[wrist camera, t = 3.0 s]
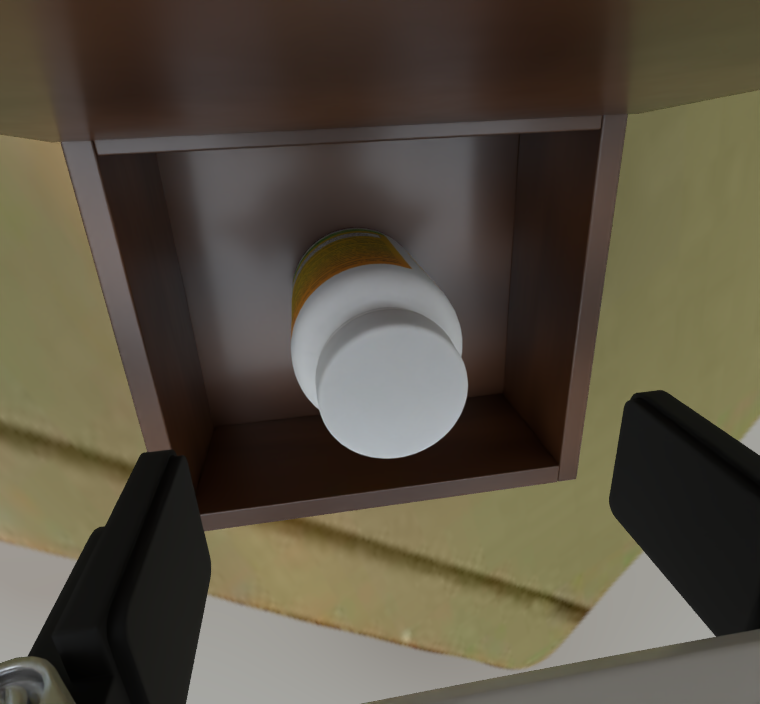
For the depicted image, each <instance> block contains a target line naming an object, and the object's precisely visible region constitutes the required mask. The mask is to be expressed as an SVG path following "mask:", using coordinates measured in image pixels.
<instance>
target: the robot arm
mask: <svg viewBox="0 0 760 704" xmlns="http://www.w3.org/2000/svg"><path fill="white" fill-rule="evenodd" d="M609 504H610V508H611V511H612V513H613V515H614V516H615V518H616V519H617V520H618V521H619V522H620V523H621V525H622V526H623V527H624V528H625V529H626V531H627V532H628V533H629V534H630V535H631V536H632V538H633V539H634V540H635V541H636V542H637V544H638V545H639V546H640V547H641V548H642V549H643V551H644V552H645V553H646V554H647V555H648V557H649V558H650V559H651V560H652V561H653V563H654V564H655V565H656V566H657V567H658V568H659V570H660V571H661V572H662V573H663V574H664V576H665V577H666V578H667V579H668V580H669V581H670V583H671V584H672V585H673V586H674V587H675V589H676V590H677V591H678V592H679V593H680V594H681V596H682V597H683V598H684V599H685V600H686V602H687V603H688V604H689V605H690V606H691V607H692V609H693V610H694V611H695V612H696V613H697V614H698V616H699V617H700V618H701V619H702V621H703V622H704V623H705V624H706V625H707V626H708V628H709V629H710V630H711V631H712V632H713V633H714V635H715V636H716V637H713V638H707V639H702V640H697V641H691V642H685V643H680V644H674V645H669V646H664V647H659V648H652V649H647V650H642V651H636V652H631V653H626V654H620V655H615V656H609V657H604V658H598V659H593V660H588V661H582V662H577V663H572V664H566V665H561V666H556V667H550V668H545V669H540V670H534V671H529V672H524V673H519V674H513V675H508V676H503V677H497V678H493V679H487V680H482V681H476V682H471V683H466V684H461V685H455V686H451V687H445V688H440V689H435V690H430V691H425V692H419V693H414V694H409V695H404V696H399V697H394V698H389V699H384V700H378V701H373V702H368V703H363V704H760V455H758V454H757V453H755V452H753V451H752V450H751V449H749V448H748V447H746V446H745V445H743V444H742V443H740V442H739V441H738V440H736V439H735V438H733V437H732V436H730V435H729V434H727V433H726V432H724V431H723V430H721V429H720V428H718V427H717V426H716V425H714V424H713V423H711V422H710V421H708V420H707V419H705V418H704V417H702V416H701V415H699V414H698V413H696V412H695V411H694V410H692V409H691V408H689V407H688V406H686V405H685V404H683V403H682V402H680V401H679V400H677V399H676V398H674V397H673V396H672V395H670V394H669V393H667V392H665V391H663V390H657V391H649V392H641V393H636V394H634V395H633V396H632V397H631V399H630V400H629V401H627V402H626V404H625V406H624V411H623V417H622V423H621V429H620V435H619V441H618V447H617V454H616V460H615V466H614V472H613V478H612V484H611V490H610V496H609ZM210 577H211V560H210V555H209V551H208V546H207V542H206V538H205V534H204V529H203V525H202V521H201V517H200V513H199V508H198V504H197V500H196V496H195V491H194V487H193V483H192V479H191V474H190V470H189V466H188V462H187V459H186V457H185V456H184V455H182V456H177V455H176V453H175V451H174V450H173V449H170V450H162V451H154V452H146V453H142V454H141V455H140V457H139V459H138V461H137V463H136V465H135V467H134V469H133V471H132V473H131V475H130V477H129V479H128V481H127V483H126V485H125V487H124V489H123V491H122V493H121V495H120V497H119V499H118V501H117V503H116V505H115V507H114V509H113V511H112V513H111V516H110V518H109V520H108V522H107V524H106V526H104V527H99V528H97V529H95V530H94V531H93V533H92V534H91V536H90V537H89V539H88V541H87V543H86V545H85V547H84V549H83V551H82V553H81V555H80V557H79V559H78V560H77V562H76V564H75V566H74V568H73V570H72V572H71V574H70V576H69V578H68V580H67V582H66V584H65V585H64V588H63V590H62V591H61V593H60V595H59V597H58V599H57V601H56V603H55V605H54V607H53V609H52V610H51V612H50V614H49V616H48V618H47V620H46V622H45V624H44V626H43V628H42V630H41V632H40V634H39V636H38V638H37V639H36V641H35V643H34V645H33V647H32V649H31V651H30V653H29V655H28V657H19V658H14V659H11V660H8V661H5V662H2V663H0V704H186V700H187V695H188V690H189V684H190V679H191V674H192V669H193V664H194V659H195V654H196V649H197V644H198V639H199V633H200V628H201V623H202V618H203V613H204V608H205V602H206V598H207V593H208V588H209V582H210Z"/></svg>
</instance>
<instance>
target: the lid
mask: <svg viewBox="0 0 760 704" xmlns="http://www.w3.org/2000/svg"><path fill="white" fill-rule="evenodd" d="M756 90H760V0H0V135H7V136H14V137H20V138H27V139H34V140H40V141H47V142H71V141H91V140H112V139H132V138H152V137H173V136H193V135H213V134H234V133H254V132H274V131H294V130H315V129H335V128H355V127H376V126H396V125H416V124H437V123H457V122H477V121H498V120H518V119H538V118H559V117H579V116H599V115H620V114H639V113H644V112H649V111H654V110H659V109H664V108H670V107H675V106H680V105H685V104H690V103H695V102H700V101H705V100H710V99H715V98H720V97H725V96H731V95H736V94H741V93H746V92H751V91H756Z"/></svg>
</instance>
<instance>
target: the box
mask: <svg viewBox="0 0 760 704" xmlns="http://www.w3.org/2000/svg"><path fill="white" fill-rule="evenodd" d="M627 117H628V114H620V115H599V116H579V117H559V118H538V119H518V120H498V121H477V122H457V123H437V124H416V125H396V126H376V127H355V128H335V129H315V130H294V131H274V132H254V133H234V134H213V135H193V136H173V137H152V138H132V139H112V140H91V141H71V142H61V146H62V149H63V153H64V157H65V160H66V164H67V167H68V171H69V174H70V178H71V181H72V185H73V189H74V192H75V196H76V199H77V203H78V206H79V210H80V214H81V217H82V221H83V224H84V228H85V231H86V235H87V238H88V242H89V246H90V249H91V253H92V256H93V260H94V263H95V267H96V271H97V274H98V278H99V281H100V285H101V288H102V292H103V296H104V299H105V303H106V306H107V310H108V313H109V317H110V320H111V324H112V328H113V331H114V335H115V338H116V342H117V345H118V349H119V353H120V356H121V360H122V363H123V367H124V370H125V374H126V377H127V381H128V385H129V388H130V392H131V395H132V399H133V402H134V406H135V410H136V413H137V417H138V420H139V424H140V427H141V431H142V434H143V438H144V442H145V445H146V449H147V452H154V451H162V450H170V449H173V450H174V451H175V453H176V455H177V456H182V455H184V456H185V457H186V459H187V462H188V466H189V470H190V474H191V479H192V483H193V487H194V491H195V496H196V500H197V504H198V508H199V513H200V517H201V521H202V525H203V529H204V531H209V530H217V529H224V528H231V527H238V526H245V525H252V524H259V523H267V522H274V521H281V520H288V519H295V518H302V517H310V516H317V515H324V514H331V513H338V512H345V511H352V510H360V509H367V508H374V507H381V506H388V505H395V504H403V503H410V502H417V501H424V500H431V499H438V498H445V497H453V496H460V495H467V494H474V493H481V492H488V491H495V490H503V489H510V488H517V487H524V486H531V485H538V484H546V483H553V482H557V481H565V480H573V479H576V476H577V469H578V462H579V455H580V448H581V441H582V434H583V427H584V420H585V413H586V406H587V399H588V392H589V385H590V378H591V371H592V364H593V357H594V349H595V342H596V335H597V328H598V321H599V314H600V307H601V300H602V293H603V286H604V279H605V272H606V265H607V258H608V251H609V244H610V237H611V229H612V222H613V215H614V208H615V201H616V194H617V187H618V180H619V173H620V166H621V159H622V152H623V145H624V138H625V131H626V124H627ZM349 228H364V229H370V230H374V231H378V232H380V233H383V234H385V235H387V236H389V237H390V238H392V239H393V240H395V241H396V242H397V243H398V244H399V245H400V246H401V247H403V248H404V249H405V250H406V251H407V252H408V253H409V254H410V256H411V257H412V258H413V259H414V260H415V261H416V263H417V264H418V265H419V266H420V267H421V268H422V269H423V270H424V272H425V273H426V274H427V275H428V276H429V277H430V278H431V279H432V281H433V282H434V283H435V284H436V285H437V286H438V287H439V288H440V289H441V291H442V292H443V293H444V294H445V296H446V297H447V299H448V300H449V302H450V304H451V305H452V307H453V309H454V310H455V313H456V315H457V318H458V321H459V324H460V327H461V333H462V356H461V358H462V360H463V362H464V365H465V368H466V371H467V378H468V392H467V398H466V402H465V405H464V408H463V410H462V413H461V415H460V417H459V418H458V420H457V422H456V423H455V425H454V426H453V427H452V428H451V430H450V431H449V432H448V433H447V434H446V435H445V436H444V437H443V438H441V439H440V440H439V441H438V442H436V443H435V444H433V445H432V446H430V447H428V448H426V449H424V450H422V451H420V452H418V453H415V454H412V455H409V456H405V457H399V458H374V457H369V456H365V455H362V454H359V453H356V452H354V451H352V450H350V449H348V448H347V447H345V446H344V445H342V444H341V443H340V442H339V441H337V440H336V439H335V438H334V436H333V435H332V434H331V433H330V432H329V430H328V429H327V427H326V425H325V424H324V422H323V420H322V417H321V415H320V411H319V409H318V408H316V407H315V406H314V405H313V404H312V403H311V401H310V400H309V399H308V398H307V397H306V395H305V394H304V392H303V391H302V389H301V387H300V385H299V383H298V381H297V378H296V375H295V372H294V368H293V364H292V356H291V322H292V285H293V279H294V274H295V271H296V269H297V266H298V264H299V262H300V260H301V259H302V257H303V256H304V254H305V253H306V252H307V250H308V249H309V248H310V247H311V246H312V245H313V244H315V243H316V242H317V241H318V240H320V239H321V238H323V237H324V236H326V235H328V234H330V233H333V232H335V231H339V230H343V229H349Z"/></svg>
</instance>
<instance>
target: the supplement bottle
mask: <svg viewBox="0 0 760 704" xmlns="http://www.w3.org/2000/svg"><path fill="white" fill-rule="evenodd" d="M291 356H292V364H293V368H294V372H295V375H296V378H297V381H298V383H299V385H300V387H301V389H302V391H303V392H304V394H305V395H306V397H307V398H308V399H309V400H310V401H311V403H312V404H313V405H314V406H315V407H316V408H318V409H319V411H320V415H321V417H322V420H323V422H324V424H325V425H326V427H327V429H328V430H329V432H330V433H331V434H332V435H333V436H334V438H335V439H336V440H337V441H339V442H340V443H341V444H342V445H344V446H345V447H347V448H348V449H350V450H352V451H354V452H356V453H359V454H362V455H365V456H369V457H374V458H399V457H405V456H409V455H412V454H415V453H418V452H420V451H422V450H424V449H426V448H428V447H430V446H432V445H433V444H435V443H436V442H438V441H439V440H440V439H441V438H443V437H444V436H445V435H446V434H447V433H448V432H449V431H450V430H451V428H452V427H453V426H454V425H455V423H456V422H457V420H458V418H459V417H460V415H461V413H462V410H463V408H464V405H465V402H466V398H467V392H468V378H467V371H466V368H465V365H464V362H463V360H462V358H461V356H462V333H461V327H460V324H459V321H458V318H457V315H456V313H455V310H454V309H453V307H452V305H451V304H450V302H449V300H448V299H447V297H446V296H445V294H444V293H443V292H442V291H441V289H440V288H439V287H438V286H437V285H436V284H435V283H434V282H433V281H432V279H431V278H430V277H429V276H428V275H427V274H426V273H425V272H424V270H423V269H422V268H421V267H420V266H419V265H418V264H417V263H416V261H415V260H414V259H413V258H412V257H411V256H410V254H409V253H408V252H407V251H406V250H405V249H404V248H403V247H401V246H400V245H399V244H398V243H397V242H396V241H395V240H393V239H392V238H390V237H389V236H387V235H385V234H383V233H380V232H378V231H374V230H370V229H364V228H349V229H343V230H339V231H335V232H333V233H330V234H328V235H326V236H324V237H323V238H321V239H320V240H318V241H317V242H316V243H315V244H313V245H312V246H311V247H310V248H309V249H308V250H307V252H306V253H305V254H304V256H303V257H302V259H301V260H300V262H299V264H298V266H297V269H296V271H295V274H294V279H293V285H292V322H291Z"/></svg>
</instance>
